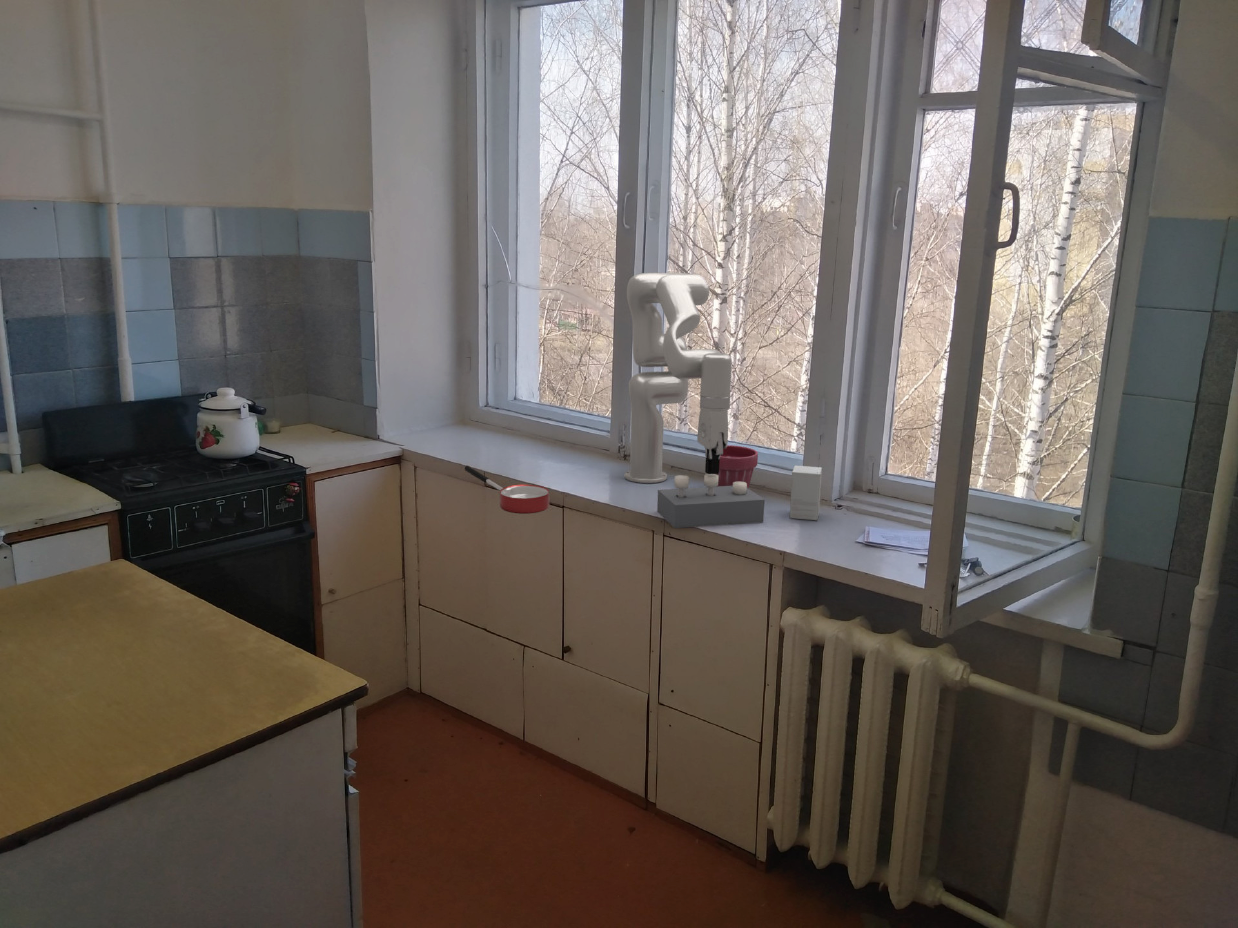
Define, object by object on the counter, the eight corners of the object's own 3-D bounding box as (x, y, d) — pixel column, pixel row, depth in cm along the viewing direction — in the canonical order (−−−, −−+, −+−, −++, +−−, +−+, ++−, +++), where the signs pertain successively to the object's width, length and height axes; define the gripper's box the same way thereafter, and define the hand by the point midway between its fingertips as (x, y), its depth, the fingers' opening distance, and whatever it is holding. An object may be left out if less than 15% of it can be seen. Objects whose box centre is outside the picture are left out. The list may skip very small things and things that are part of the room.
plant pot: (746, 505, 259) (749, 459, 255) (697, 498, 264) (699, 453, 261) (761, 492, 271) (764, 448, 268) (714, 485, 277) (716, 442, 274)
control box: (657, 511, 251) (657, 489, 249) (742, 506, 257) (743, 485, 256) (674, 528, 238) (675, 505, 236) (763, 522, 244) (764, 499, 243)
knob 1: (672, 502, 246) (672, 475, 244) (685, 501, 247) (686, 474, 245) (676, 506, 242) (677, 479, 240) (689, 505, 243) (691, 478, 241)
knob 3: (729, 507, 250) (730, 481, 249) (742, 507, 251) (743, 481, 250) (734, 511, 247) (736, 485, 245) (747, 511, 248) (749, 484, 246)
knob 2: (701, 500, 248) (702, 474, 246) (714, 499, 249) (715, 473, 247) (706, 504, 244) (707, 477, 243) (719, 503, 245) (720, 477, 244)
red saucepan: (442, 493, 264) (441, 471, 262) (477, 484, 273) (477, 462, 272) (524, 517, 244) (524, 493, 242) (559, 506, 254) (559, 483, 252)
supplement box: (819, 513, 253) (823, 467, 250) (817, 521, 246) (821, 473, 243) (791, 510, 255) (794, 464, 252) (788, 518, 248) (791, 471, 245)
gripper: (690, 398, 246) (688, 467, 250) (711, 408, 232) (708, 481, 236) (718, 397, 248) (715, 465, 252) (740, 407, 234) (736, 479, 238)
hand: (712, 473), depth 244 cm, fingers closed
